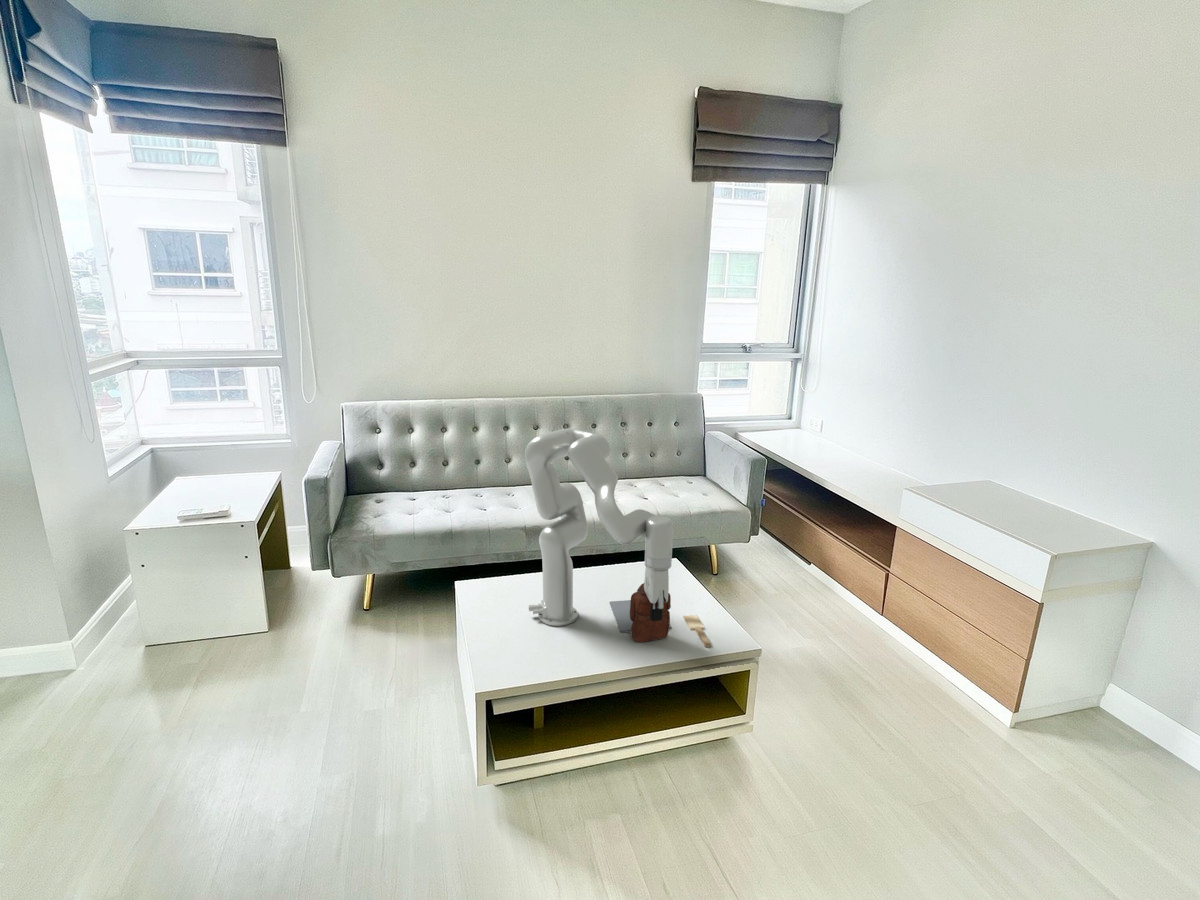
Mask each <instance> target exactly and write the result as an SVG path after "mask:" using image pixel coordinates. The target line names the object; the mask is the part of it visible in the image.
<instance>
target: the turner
mask: <svg viewBox="0 0 1200 900" xmlns="http://www.w3.org/2000/svg"><path fill="white" fill-rule="evenodd" d="M682 617H683V620H684V621H685V623H686V625H687V626H688V628H689V630H690V631H695V632H696V634H697V636H698V637H699V639H700V641H701V643H702V644H703V646H704V647H705V648H710V646H711V645H712V643H711V642H710V640H709V638H708V637H707V635H706V634H705V632H704V631H703V630H705V626H704V624H703V623H702V622H701V620H700V619H699V617H698V616H697V614H693V615H692V614H690V615H689V614H688V615H683V616H682ZM711 647H712V646H711Z"/></svg>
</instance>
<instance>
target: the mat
mask: <svg viewBox="0 0 1200 900" xmlns="http://www.w3.org/2000/svg"><path fill="white" fill-rule="evenodd" d="M630 602H631V599H628V600H614V601H613V600H612V601H609V605H610V608H611V611H612V614H613V616H614V619H615V623H616V624H617V627H618V630H619V633H631V627H632V623H633V621H631V619H630ZM669 630H672V625H670V626H669Z"/></svg>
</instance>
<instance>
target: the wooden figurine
mask: <svg viewBox="0 0 1200 900" xmlns="http://www.w3.org/2000/svg"><path fill="white" fill-rule="evenodd" d="M630 600H631V602H630V619H631V621H633V623H632V627H631V632H630V638H631V639H632V640H633V641H634V642H637V643H647V642H651V641H657V640H662V639H666V638H667V637H668V635H669V631H670V629H669V626H671V617H670V616H671V615H670V609H671V608H672V604H671V602H672V601H671V600H672V599H671V594H670V592H668V601H667V602H666V603H665V602H664V600H663V609H662V620H661V621H651V619H650V606H652V605H651V604H650V601H649V599H648V597H647V595H646V593H645V590H644V582H643V583H642V584H640V586H638V588H637V589H636V592H633V593H632V594H631V597H630Z"/></svg>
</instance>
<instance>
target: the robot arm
mask: <svg viewBox="0 0 1200 900" xmlns="http://www.w3.org/2000/svg"><path fill="white" fill-rule="evenodd" d="M610 454H611V445H610V443H609V442H608V440H607V439H606V438H605V437H604V436H602V435H601V434H597V433H595V432H590V431H585V430H579V429H576V428H562V429H561V428H560V429H557V430H555V431H550V432H546V433H543V434H540V435H538V436H536V437H534V438H533V439H532V440H530V441H529V442H528V444H527V445H526V447H525V450H524V463H525V467H526V468H527V472H528V475H529V477H530V481H531V486H532V491H533V495H534V501H535V505H536V506H535V507H536V510H537V513H538V514H539V516H540V517H541V519H543V520H546V521H552V520H555V519H557V518H560V519H559V520H557V521H553V522H552V523H551V524H550V523H549V524H548V525H547V526H545V527H544V528H543V529H542V531H541V532H540V534H539V536H538V537H539V538H538V542H539V547H540V553H541V559H542V560H541V561H542V564H541V565H542V600H541V603H538V604H529V605H528V612H532V615H537V617H538V620H539V621H540V622H541V623H543V624H546V625H548V626H554V627H556V626H557V627H561V626H562V627H563V626H567V625H569V624H571V623H574V622H575V621H576V620H577V618H578V614H579V613H578V610H577V608H575V607H573V606H574V603H573V602H574V601H573V600H574V594H573V593H574V591H573V590H574V586H573V585H574V566H573V565H574V564H573V560H572V558H571V556H570V553H569V551H570V549H572V548H574V547H576V546H578V545H579V544H581V543H583V542H584V541H585V539H586V538H587V536H588V533H589V531H588V530H589V528H588V523H587V517H586V516H587V515H586V512H585V507H584V502H583V498H582V496H581V493H580V491H579V489H578V488H577V486H575V485H574V484H573V483H570V482H560V478H559V474H558V471H557V469H556V467H554V465H553V464H552V462H553V461H556V460H558V459H559V460H560V459H563V458H565V457H568V460H569V461H570V463H571V464H572V465H573V467H574V468H575V470H576V471H577V473H578V474H579V475H580V476H581V478H582V479H583V480H584V482H585V483H586V485H587V486H588V488H589V489H590V490H591V491H592V493H593V495H594V505H595V508H596V512H597V517H598V519H599V521H600V523H601V524H602V526H603V527H604V528H605V530H606V531H607V532H608V535H610V537H612V538H613V540H615V542H617V543H619V544H621V545H631V544H632V543H634V542H636V541H637V540H639V539H641V538H645V539H644V540H645V545H644V566H645V571H644V582H643V583H644V590H645V593H646V595H647V597H648V599H649V601H650V604H651V605H652V606H650V619H651V621H661V620H662V609H663V600H664V602H665V603H666V602H667V601H668V593H669V584H670V583H669V582H670V580H669V577H670V576H669V569H671V568H672V563H673V562H672V561H673V559H672V558H673V540H674V539H673V537H674V523H673V520H672V519H671V518H669V517H667V516H662V515H656V514H654V513H651V512H650V511H648V510H645V509H634V510H633V511H630V512H628V513H627V514H625V515H624V514H623V512H622V511H621V510H620V508H619V506H618V504H617V502H616V499H615V489H616V485H617V484H618V481H619V477H618V474H617V473H616V472H615V470H614V469H613V468H612V466H611V465H610V464H609V462H608V461H607V459H608V458H609V456H610Z"/></svg>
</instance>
